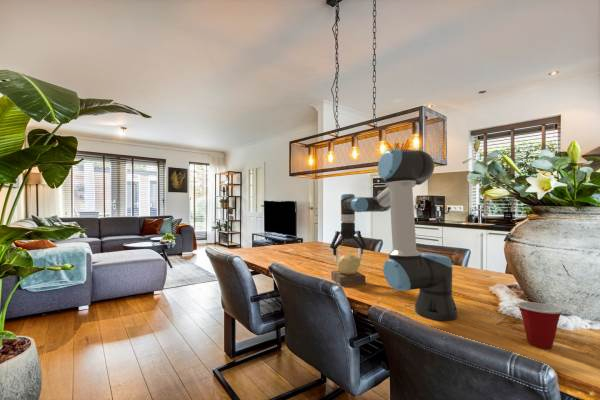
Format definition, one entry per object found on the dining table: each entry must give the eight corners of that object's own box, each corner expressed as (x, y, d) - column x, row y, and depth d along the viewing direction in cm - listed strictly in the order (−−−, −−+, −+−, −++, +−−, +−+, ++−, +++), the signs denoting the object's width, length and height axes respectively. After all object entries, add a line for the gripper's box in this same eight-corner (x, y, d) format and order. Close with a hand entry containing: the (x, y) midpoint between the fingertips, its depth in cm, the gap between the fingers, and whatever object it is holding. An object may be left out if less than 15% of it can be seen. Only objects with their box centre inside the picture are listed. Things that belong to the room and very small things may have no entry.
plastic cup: (544, 336, 92) (544, 299, 92) (573, 354, 82) (573, 312, 82) (509, 335, 93) (508, 298, 93) (532, 352, 83) (532, 311, 83)
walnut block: (365, 285, 150) (365, 276, 150) (340, 287, 147) (340, 277, 147) (354, 278, 164) (354, 269, 164) (331, 280, 161) (331, 271, 161)
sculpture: (348, 277, 147) (348, 256, 147) (333, 272, 157) (332, 253, 157) (363, 274, 154) (363, 254, 154) (348, 269, 164) (348, 251, 164)
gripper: (366, 221, 162) (366, 258, 161) (324, 222, 157) (324, 260, 156) (372, 222, 154) (372, 261, 154) (328, 222, 149) (328, 263, 149)
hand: (348, 260), depth 155 cm, fingers open, 13 cm apart
